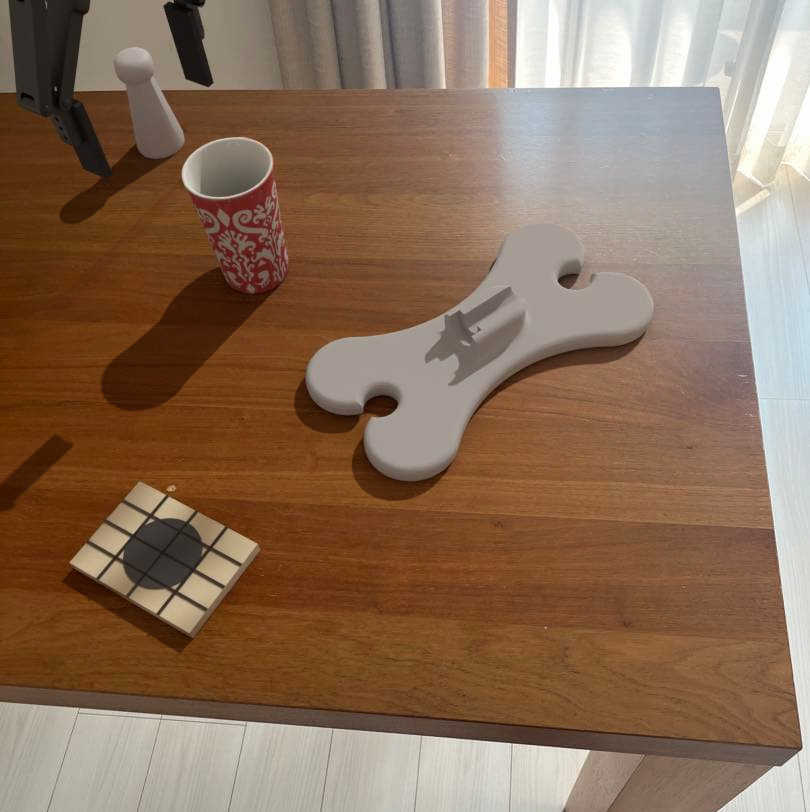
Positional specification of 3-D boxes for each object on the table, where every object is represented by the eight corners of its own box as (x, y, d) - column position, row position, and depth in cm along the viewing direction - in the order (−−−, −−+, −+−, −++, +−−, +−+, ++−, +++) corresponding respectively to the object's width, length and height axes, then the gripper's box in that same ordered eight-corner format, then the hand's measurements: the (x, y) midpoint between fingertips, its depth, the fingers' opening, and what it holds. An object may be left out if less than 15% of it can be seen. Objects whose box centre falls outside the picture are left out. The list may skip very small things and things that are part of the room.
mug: (292, 301, 95) (265, 197, 83) (210, 301, 96) (172, 198, 84) (307, 219, 101) (284, 112, 89) (230, 220, 102) (198, 114, 90)
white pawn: (181, 174, 107) (145, 72, 95) (137, 171, 108) (96, 70, 96) (195, 142, 109) (162, 39, 98) (152, 140, 110) (114, 38, 99)
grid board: (74, 568, 81) (68, 562, 79) (143, 487, 84) (139, 480, 83) (193, 639, 76) (188, 632, 75) (260, 550, 80) (257, 543, 79)
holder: (670, 318, 90) (680, 282, 85) (402, 501, 81) (398, 470, 77) (545, 221, 98) (548, 183, 94) (290, 378, 90) (280, 344, 85)
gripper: (-55, -57, 52) (84, 228, 71) (208, -235, 62) (270, 57, 80) (-137, -85, 55) (19, 198, 73) (128, -252, 64) (206, 36, 83)
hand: (150, 125), depth 77 cm, fingers open, 13 cm apart
